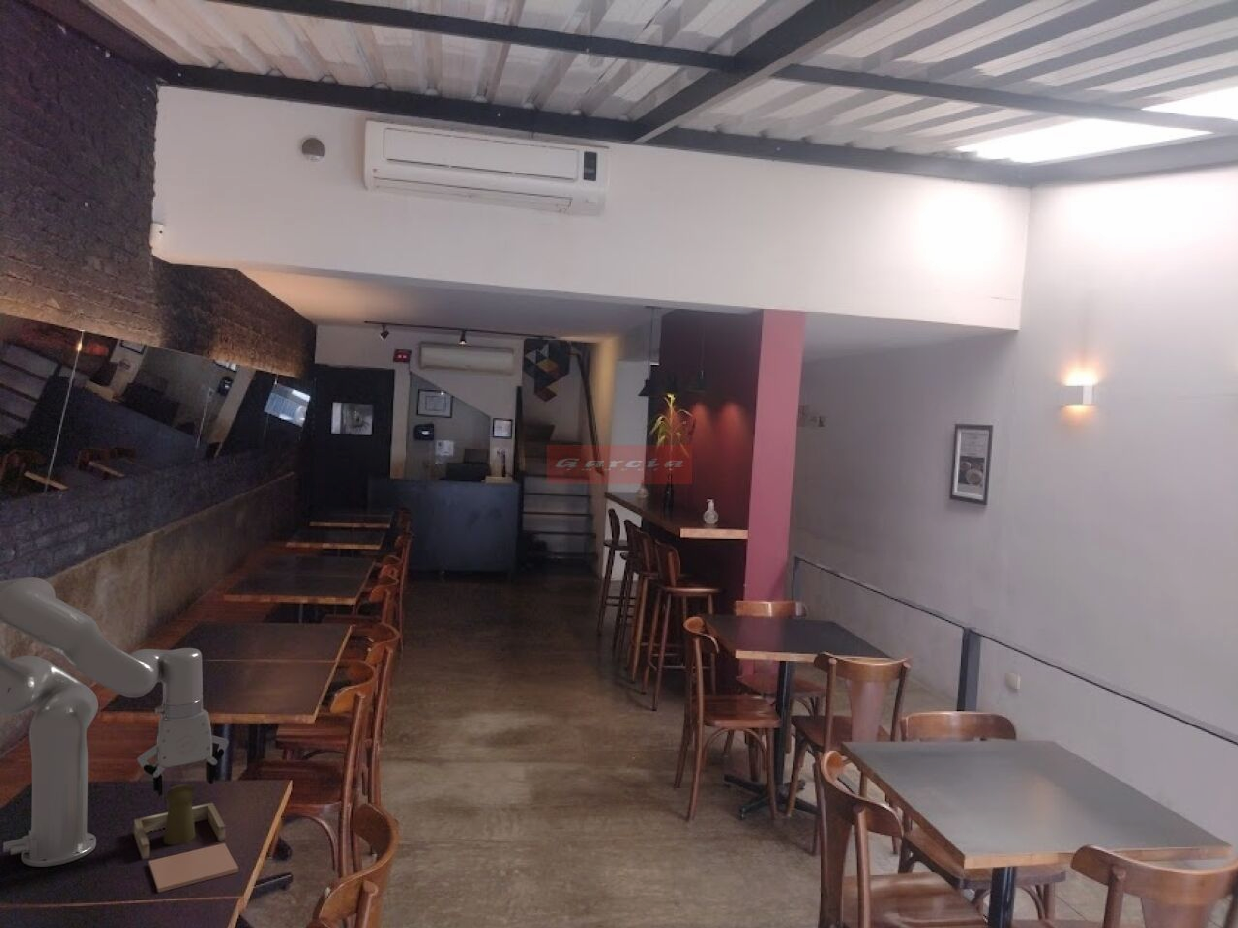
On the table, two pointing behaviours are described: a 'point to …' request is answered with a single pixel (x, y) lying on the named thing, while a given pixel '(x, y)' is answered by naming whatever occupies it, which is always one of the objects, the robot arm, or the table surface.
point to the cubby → (160, 821)
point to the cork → (180, 815)
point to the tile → (192, 867)
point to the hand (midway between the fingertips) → (184, 787)
